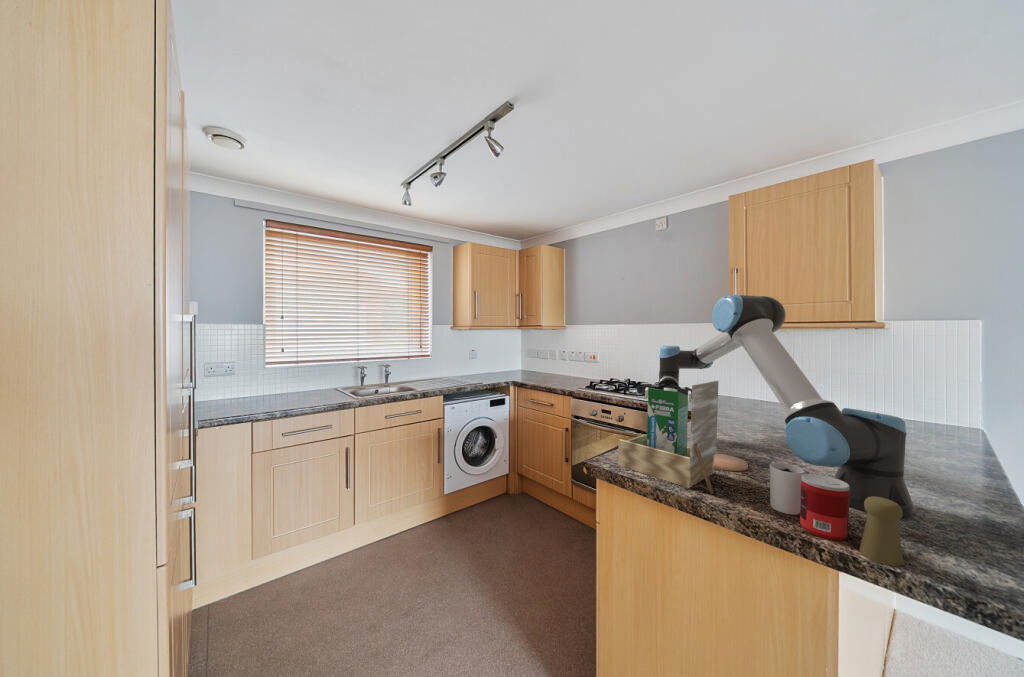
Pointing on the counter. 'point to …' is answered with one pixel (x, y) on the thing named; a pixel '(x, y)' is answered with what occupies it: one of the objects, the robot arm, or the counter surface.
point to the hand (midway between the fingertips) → (667, 395)
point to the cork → (882, 531)
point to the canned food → (824, 506)
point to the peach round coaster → (729, 463)
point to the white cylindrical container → (785, 488)
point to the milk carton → (667, 420)
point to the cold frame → (699, 452)
